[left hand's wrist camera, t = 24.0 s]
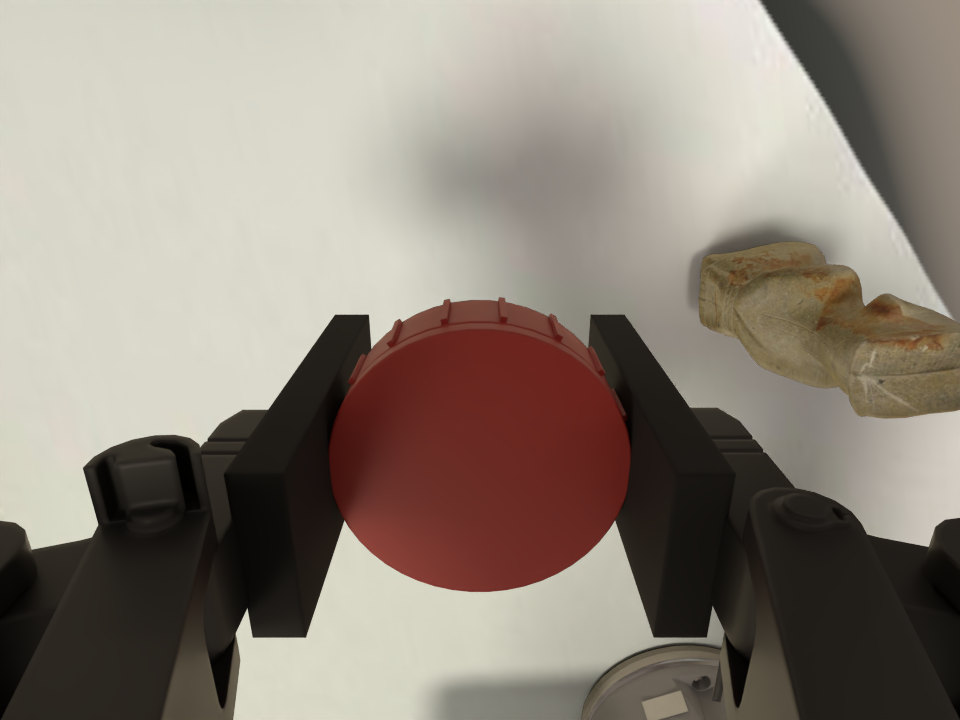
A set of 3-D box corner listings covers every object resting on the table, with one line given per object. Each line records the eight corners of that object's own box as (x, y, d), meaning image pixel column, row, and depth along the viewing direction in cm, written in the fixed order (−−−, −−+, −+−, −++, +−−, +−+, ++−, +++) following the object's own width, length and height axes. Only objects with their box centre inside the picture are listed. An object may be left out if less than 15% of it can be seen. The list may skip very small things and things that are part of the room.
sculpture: (798, 324, 38) (984, 448, 24) (679, 327, 38) (796, 453, 24) (815, 227, 36) (1031, 302, 22) (689, 230, 36) (823, 307, 22)
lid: (556, 566, 13) (565, 626, 12) (314, 498, 12) (291, 552, 11) (661, 349, 11) (690, 386, 10) (385, 256, 11) (369, 280, 9)
